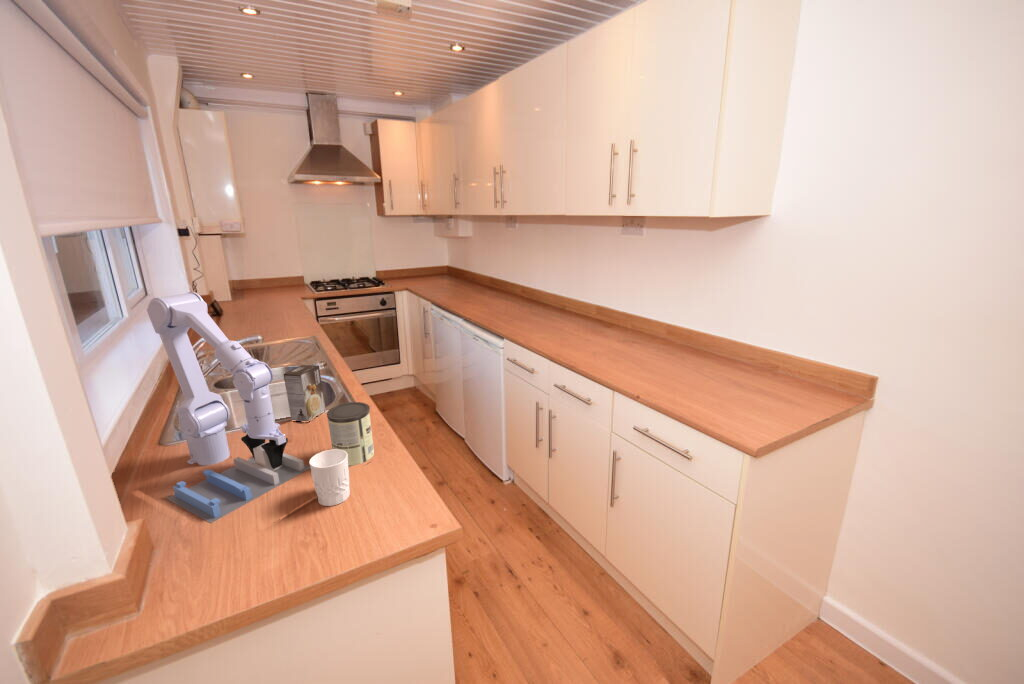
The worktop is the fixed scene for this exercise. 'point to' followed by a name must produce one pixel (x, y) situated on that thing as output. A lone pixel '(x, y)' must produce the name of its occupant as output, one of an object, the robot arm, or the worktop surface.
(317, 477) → the white cup
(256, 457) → the cream plug
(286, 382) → the coffee box
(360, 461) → the coffee can
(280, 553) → the worktop surface
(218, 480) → the grey railed board
